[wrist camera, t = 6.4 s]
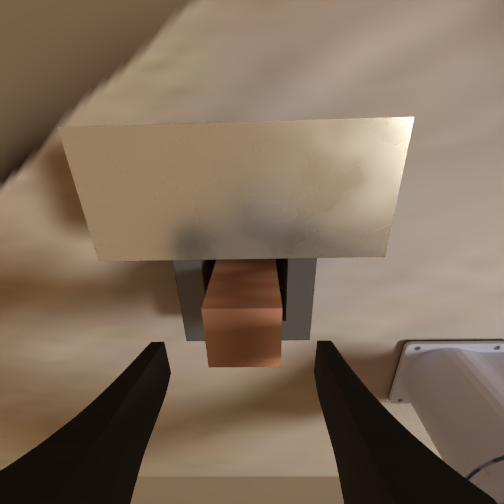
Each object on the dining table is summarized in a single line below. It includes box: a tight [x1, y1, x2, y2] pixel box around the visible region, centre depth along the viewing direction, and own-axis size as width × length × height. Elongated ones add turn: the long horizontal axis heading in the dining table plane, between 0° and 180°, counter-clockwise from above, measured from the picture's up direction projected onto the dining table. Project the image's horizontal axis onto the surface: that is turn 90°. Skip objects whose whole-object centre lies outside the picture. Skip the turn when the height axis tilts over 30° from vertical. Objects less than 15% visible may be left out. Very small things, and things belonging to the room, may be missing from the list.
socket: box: [173, 258, 317, 341], centre depth 19 cm, size 9×9×4 cm
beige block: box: [57, 117, 414, 261], centre depth 15 cm, size 14×6×7 cm, turn 91°
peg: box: [201, 259, 282, 367], centre depth 17 cm, size 4×4×8 cm
